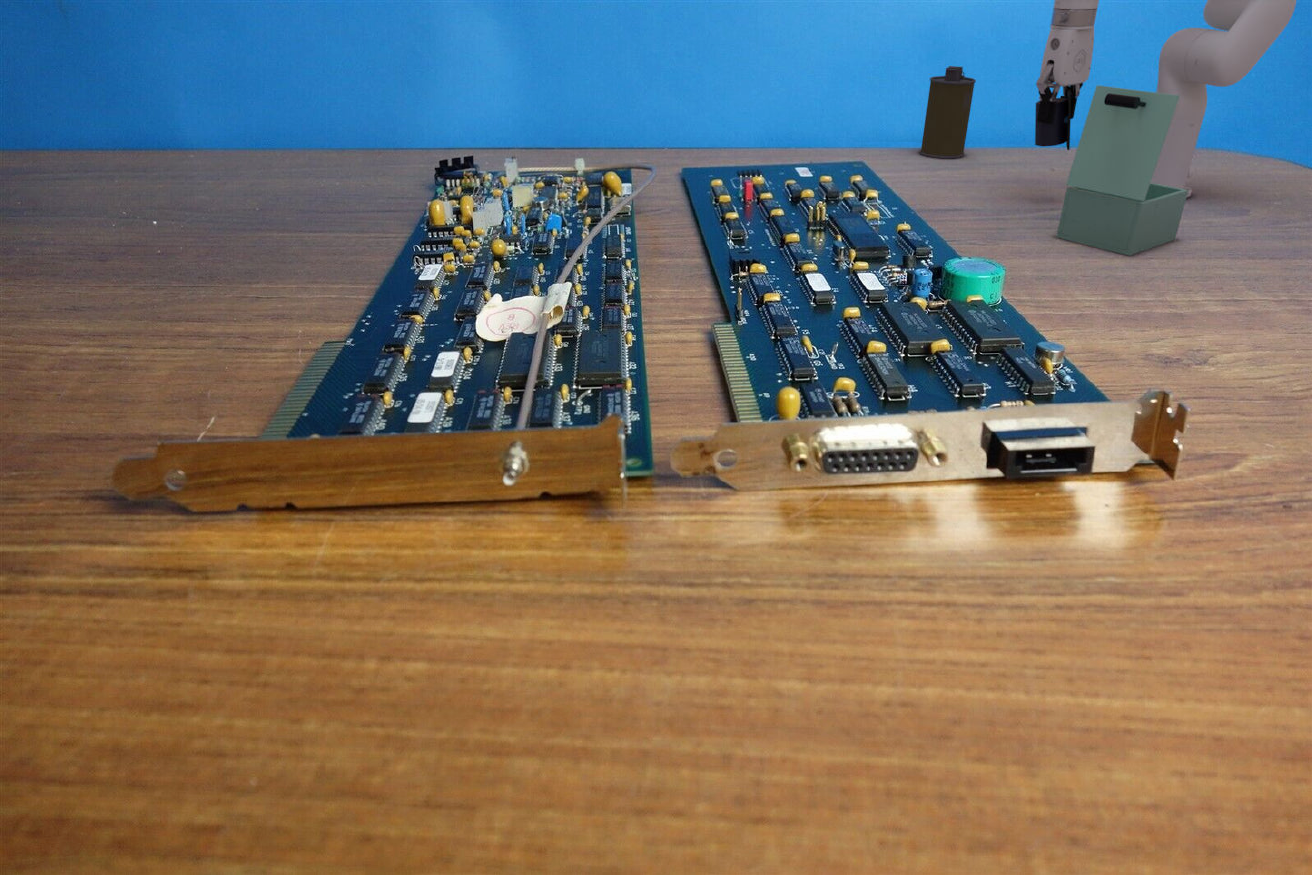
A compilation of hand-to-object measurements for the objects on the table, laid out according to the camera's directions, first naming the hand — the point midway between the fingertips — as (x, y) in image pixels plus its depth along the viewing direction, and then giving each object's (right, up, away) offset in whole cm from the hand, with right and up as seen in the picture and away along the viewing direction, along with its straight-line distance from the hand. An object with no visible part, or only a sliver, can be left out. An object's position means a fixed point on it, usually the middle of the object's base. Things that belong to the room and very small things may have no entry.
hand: (1055, 119), depth 181 cm
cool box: (+4, -26, -15) cm, 31 cm away
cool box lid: (0, -13, -27) cm, 30 cm away
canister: (-8, +7, +47) cm, 48 cm away
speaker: (0, -5, +2) cm, 5 cm away
